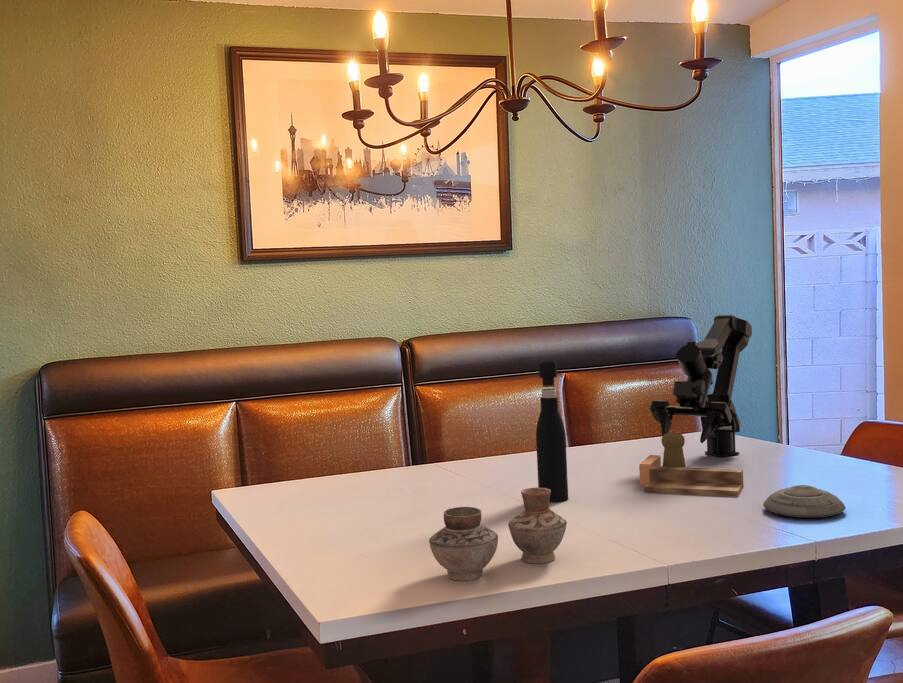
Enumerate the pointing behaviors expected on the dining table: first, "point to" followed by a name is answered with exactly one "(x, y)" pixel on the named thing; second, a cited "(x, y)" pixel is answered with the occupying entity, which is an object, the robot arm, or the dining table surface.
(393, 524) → the dining table surface
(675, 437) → the cork
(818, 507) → the flying saucer
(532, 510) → the pottery
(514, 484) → the dining table surface
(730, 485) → the guide rail
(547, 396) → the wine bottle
